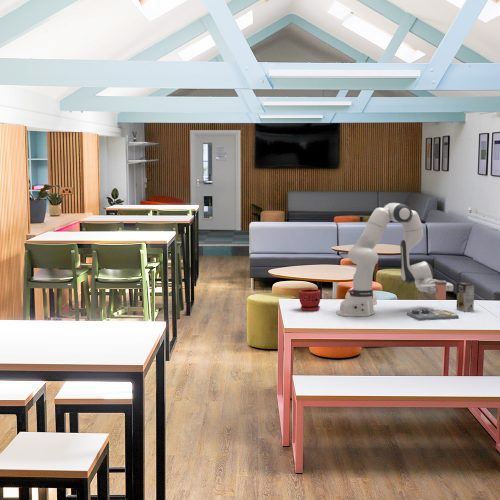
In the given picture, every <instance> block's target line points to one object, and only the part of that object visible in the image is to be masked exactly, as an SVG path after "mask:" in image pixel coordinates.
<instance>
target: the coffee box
mask: <svg viewBox="0 0 500 500" xmlns="http://www.w3.org/2000/svg"><path fill="white" fill-rule="evenodd" d="M474 302H475V284H474V283H470V282H466V281H465V282H463V281H462V282H459V281H458V282H457V283H456V310H458V311H462V312H464V313H465V312H474Z"/></svg>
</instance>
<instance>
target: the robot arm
mask: <svg viewBox="0 0 500 500" xmlns="http://www.w3.org/2000/svg"><path fill="white" fill-rule="evenodd" d="M390 222H394V223H400V224H401V225H402V229H403V238H402V240H401V241H400V248H399V249H400V260H401V261H400V264H401V267H400V277H401V279H402V281H403V282H405V283H407V284H412V283H414V284H415V288H416V289H417V290H418V292H421V293H426V294H428V295H429V294H431V295H435V292H436V291H438V289H437V288H435V281H444V282H447V284H446V292H453V291H454V284H452V283H451V282H448V281H446V280H443V279H436V278H434V268H433V266H432V265H431V264H430V263H429V262H427V261H426V260H423V261H421V262H417V263H414V264H411V265H410V252H411V250H412V249H413V248H414V247H415V246H417V245H418V244H419V243H420V242H421V241H422V240H423V237H424V228H423V224H422V221H421V217H420V216H419V213H418V212H417V211H416V210H413V209H411V208H410V207H409V206H408V205H407V204H404V203H399V202H388V203H386V204H384V205H383V206H382V207H376V208H375V209H373V212H372V213H371V215H370V217H369V218H368V220H367V222H366V225H365V228H364V229H363V232H362V233H361V235H360V236H359V238H358V239H357V241H356V242H355V244H354V245H353V246H352V247H350V248H349V250H348V252H347V258H348V259H349V260H350V261H351V262H352V263H353V264H355V265H356V268H355V273H353V277H352V287H353V289H352V290H349V289H350V288H348V289H347V290H346V291H347V292H348V293H350V296H349V297H348V298H346V299H345V298H344V300H343V301H341V302H340V304H339V305H340V306H339V310H336V311H335V313H336V315H337V316H341V317H369V316H371V315H375V314H376V313H375V308H374V305H373V291H374V290H373V277H374V271H375V266H376V264H377V263H378V261H379V254H378V252H376V251H375V250H374V248H375V247H376V246H377V245H378V244H379V243H380V242H381V240H382V239H383V235H384V233H385V230H386V229H387V226H388V224H389V223H390Z"/></svg>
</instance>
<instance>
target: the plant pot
mask: <svg viewBox="0 0 500 500" xmlns="http://www.w3.org/2000/svg"><path fill="white" fill-rule="evenodd" d="M321 297H322V296H321V290H320V289H317V288H307V289H300V290H298V298H299V302H300V309H301V310H302V311H305V312H316V311H319V309H320V308H321V306H320V302H321V299H322V298H321Z"/></svg>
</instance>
